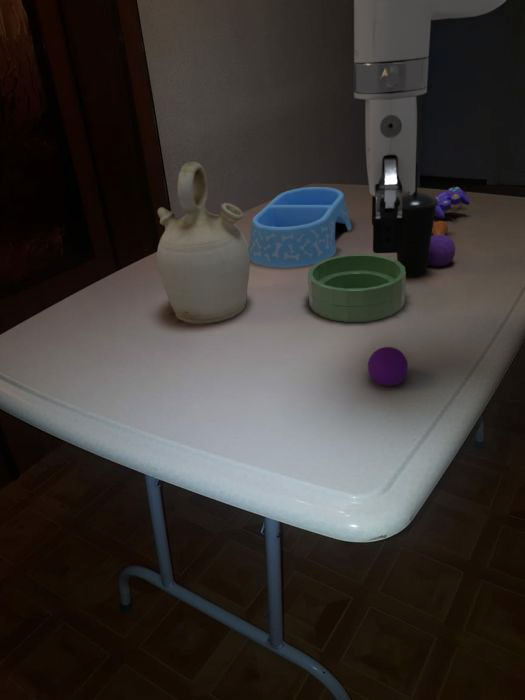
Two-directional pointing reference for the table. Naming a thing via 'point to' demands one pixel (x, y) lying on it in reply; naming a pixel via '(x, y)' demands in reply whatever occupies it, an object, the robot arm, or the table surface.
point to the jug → (202, 254)
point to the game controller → (450, 201)
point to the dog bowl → (298, 227)
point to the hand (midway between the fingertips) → (385, 237)
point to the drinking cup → (416, 230)
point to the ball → (387, 366)
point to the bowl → (357, 287)
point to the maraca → (440, 246)
